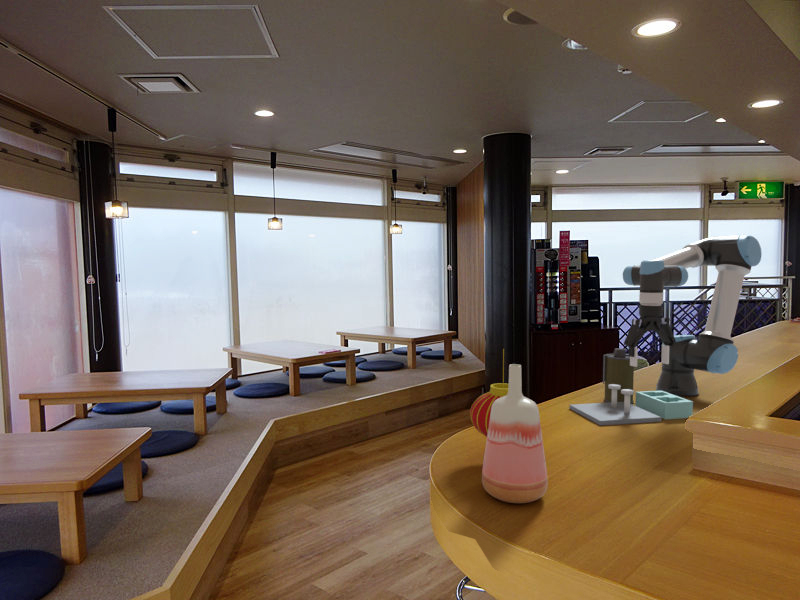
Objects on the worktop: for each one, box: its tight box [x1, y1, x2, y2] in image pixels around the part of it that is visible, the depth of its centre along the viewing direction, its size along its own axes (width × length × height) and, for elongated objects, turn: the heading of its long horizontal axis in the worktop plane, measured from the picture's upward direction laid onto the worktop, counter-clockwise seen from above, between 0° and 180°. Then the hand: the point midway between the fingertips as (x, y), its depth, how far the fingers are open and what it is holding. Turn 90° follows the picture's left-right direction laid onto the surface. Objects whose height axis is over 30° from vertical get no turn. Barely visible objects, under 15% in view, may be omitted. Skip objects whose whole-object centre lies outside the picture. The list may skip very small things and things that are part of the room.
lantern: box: [469, 348, 509, 438], centre depth 138 cm, size 17×17×30 cm
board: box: [569, 384, 662, 426], centre depth 180 cm, size 22×20×9 cm
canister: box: [602, 347, 635, 405], centre depth 198 cm, size 11×10×20 cm
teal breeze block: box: [634, 390, 694, 420], centre depth 184 cm, size 10×16×6 cm, turn 10°
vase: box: [481, 363, 548, 504], centre depth 117 cm, size 14×14×30 cm
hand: (649, 364), depth 184 cm, fingers open, 13 cm apart
